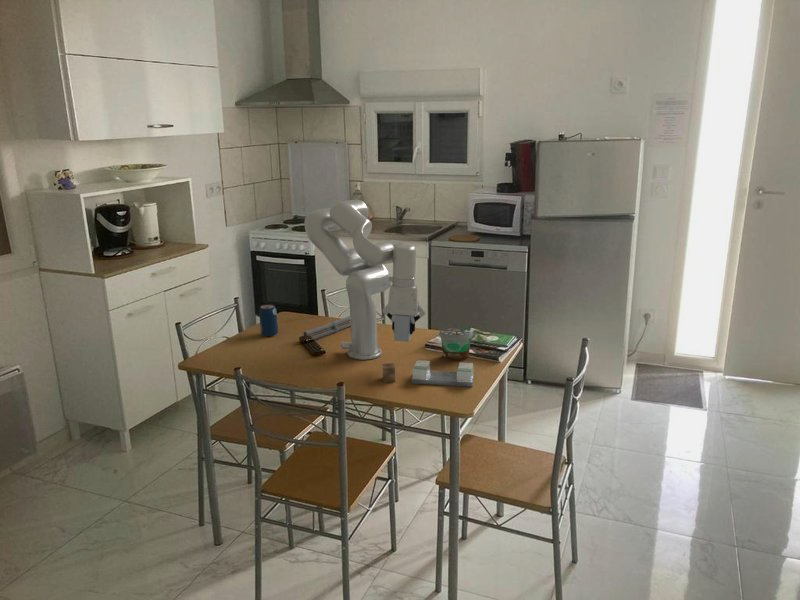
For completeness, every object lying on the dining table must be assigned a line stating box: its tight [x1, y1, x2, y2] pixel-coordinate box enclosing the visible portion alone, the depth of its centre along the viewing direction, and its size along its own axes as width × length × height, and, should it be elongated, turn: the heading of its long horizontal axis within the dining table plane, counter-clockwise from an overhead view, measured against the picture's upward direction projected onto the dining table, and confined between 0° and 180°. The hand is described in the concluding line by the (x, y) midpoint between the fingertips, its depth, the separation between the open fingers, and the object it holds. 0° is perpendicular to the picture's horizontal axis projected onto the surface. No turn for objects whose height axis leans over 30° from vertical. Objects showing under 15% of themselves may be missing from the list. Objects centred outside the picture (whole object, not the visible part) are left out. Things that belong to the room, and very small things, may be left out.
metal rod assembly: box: [303, 316, 351, 341], centre depth 264 cm, size 26×3×5 cm, turn 140°
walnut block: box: [382, 363, 396, 383], centre depth 218 cm, size 4×4×5 cm
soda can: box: [258, 304, 279, 337], centre depth 264 cm, size 7×7×12 cm
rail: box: [410, 360, 476, 388], centre depth 216 cm, size 20×8×5 cm, turn 79°
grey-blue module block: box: [393, 315, 413, 343], centre depth 224 cm, size 5×7×9 cm
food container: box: [438, 329, 474, 362], centre depth 234 cm, size 12×6×10 cm, turn 88°
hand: (403, 331), depth 224 cm, fingers closed on grey-blue module block, 5 cm apart
